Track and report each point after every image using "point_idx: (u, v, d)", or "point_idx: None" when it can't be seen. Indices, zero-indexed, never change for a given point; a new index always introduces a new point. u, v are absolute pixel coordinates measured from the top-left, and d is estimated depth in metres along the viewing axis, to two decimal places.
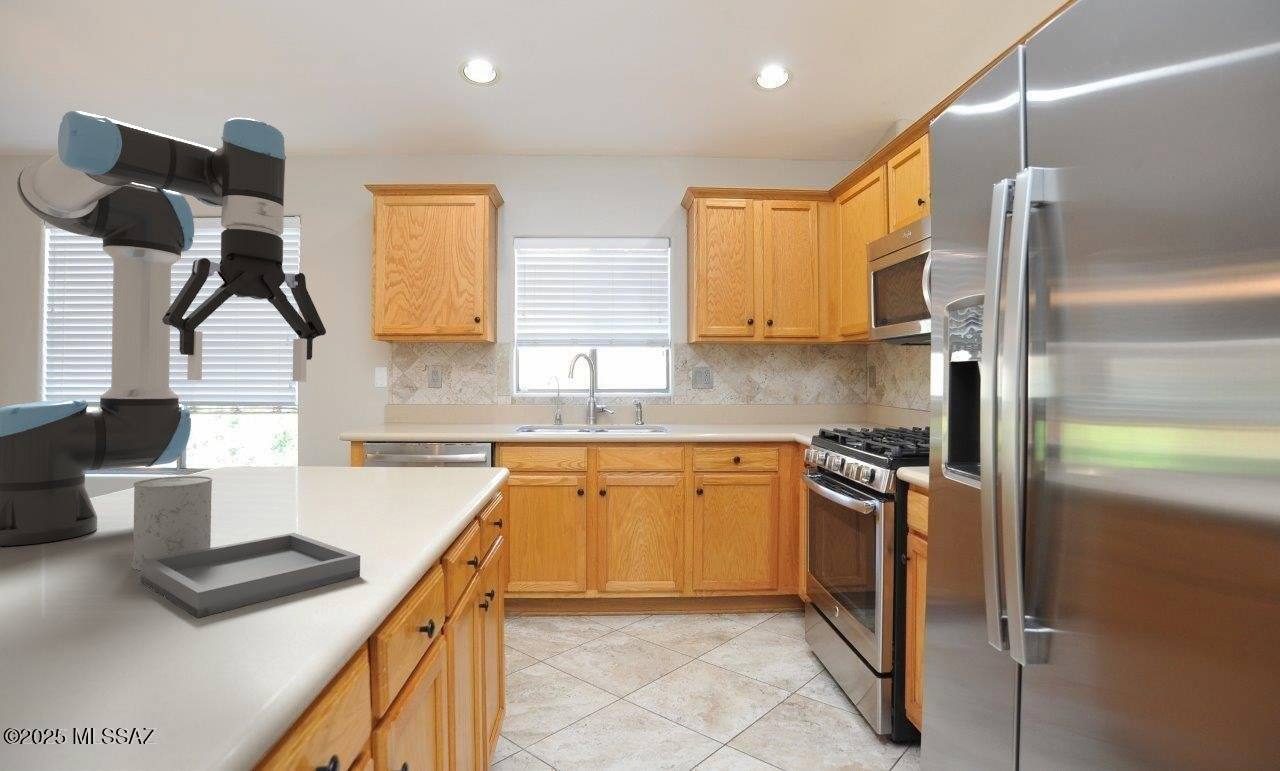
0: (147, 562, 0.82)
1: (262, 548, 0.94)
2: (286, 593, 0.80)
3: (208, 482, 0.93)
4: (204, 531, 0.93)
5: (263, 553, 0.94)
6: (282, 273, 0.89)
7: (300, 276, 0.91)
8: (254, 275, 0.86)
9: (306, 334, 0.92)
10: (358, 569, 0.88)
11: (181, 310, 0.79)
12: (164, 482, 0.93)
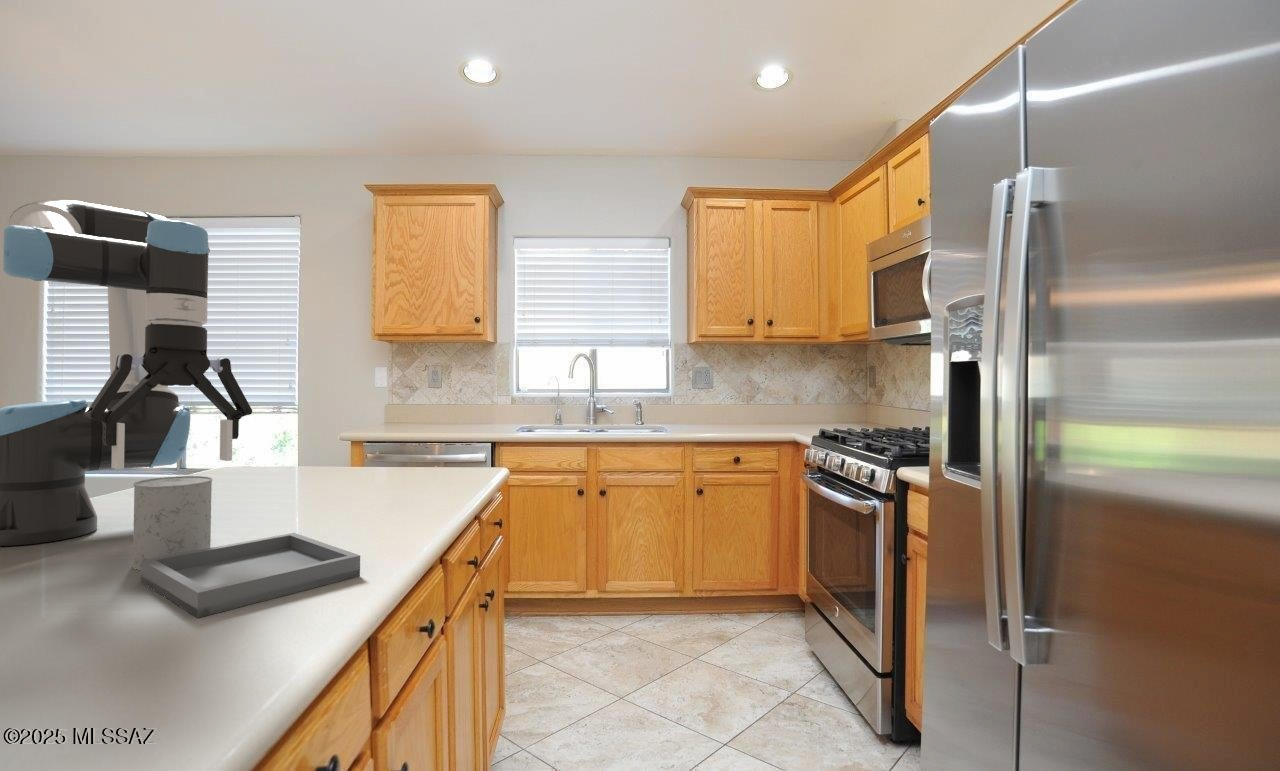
0: (147, 562, 0.82)
1: (262, 548, 0.94)
2: (286, 593, 0.80)
3: (208, 482, 0.93)
4: (204, 531, 0.93)
5: (263, 553, 0.94)
6: (206, 360, 0.95)
7: (225, 361, 0.97)
8: (178, 365, 0.92)
9: (232, 415, 0.97)
10: (358, 569, 0.88)
11: (103, 405, 0.84)
12: (164, 482, 0.92)
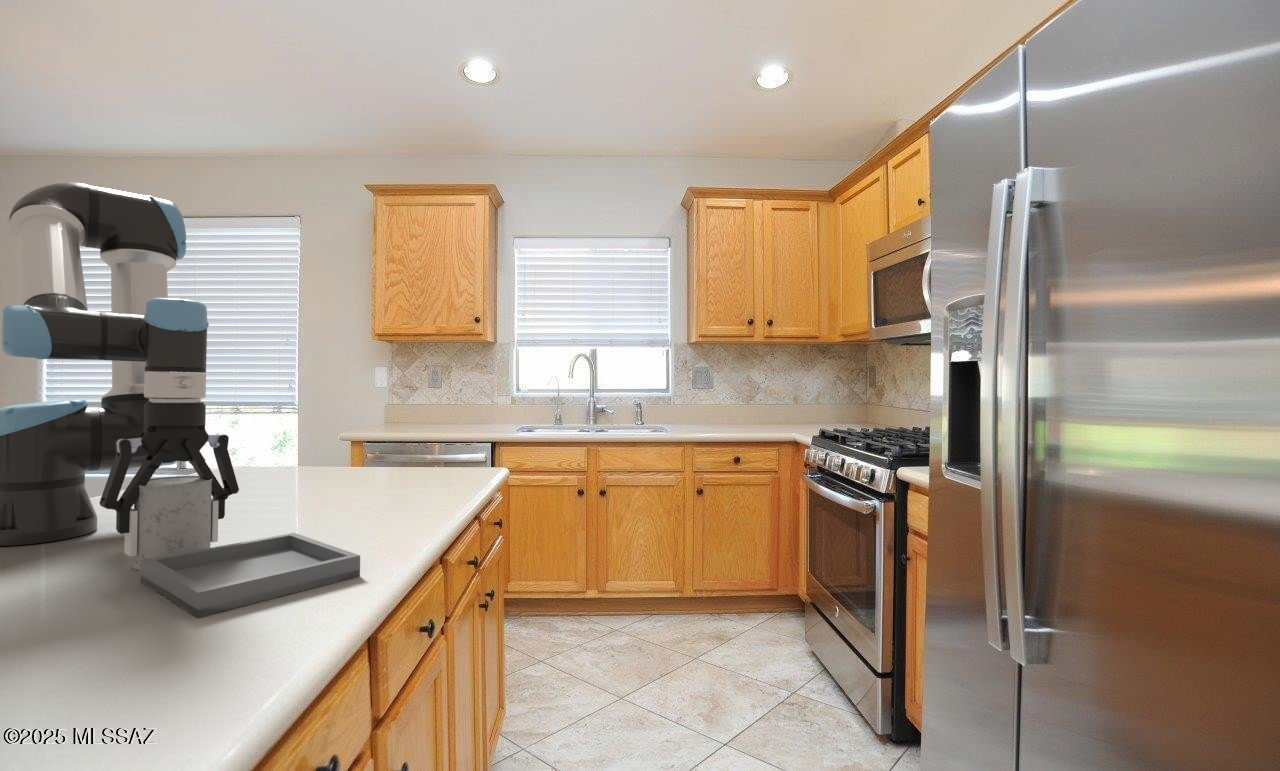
0: (147, 562, 0.82)
1: (262, 548, 0.94)
2: (286, 593, 0.80)
3: (208, 482, 0.93)
4: (204, 531, 0.93)
5: (263, 553, 0.94)
6: (205, 435, 0.95)
7: (223, 438, 0.97)
8: (176, 441, 0.92)
9: (218, 495, 0.96)
10: (358, 569, 0.88)
11: (114, 494, 0.86)
12: (164, 482, 0.92)
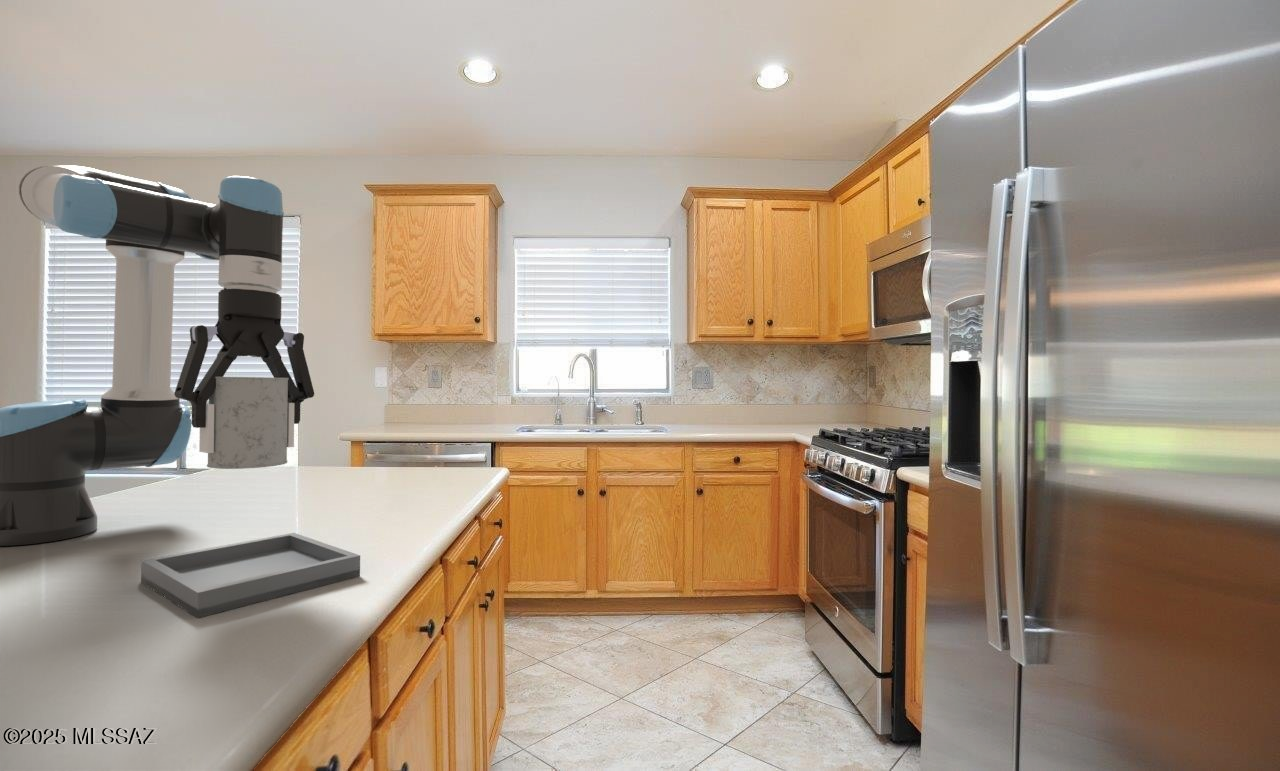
0: (147, 562, 0.82)
1: (262, 548, 0.94)
2: (286, 593, 0.80)
3: (285, 379, 0.86)
4: (282, 432, 0.86)
5: (263, 553, 0.94)
6: (281, 331, 0.88)
7: (299, 336, 0.90)
8: (252, 334, 0.85)
9: (293, 397, 0.89)
10: (358, 569, 0.88)
11: (191, 383, 0.79)
12: None
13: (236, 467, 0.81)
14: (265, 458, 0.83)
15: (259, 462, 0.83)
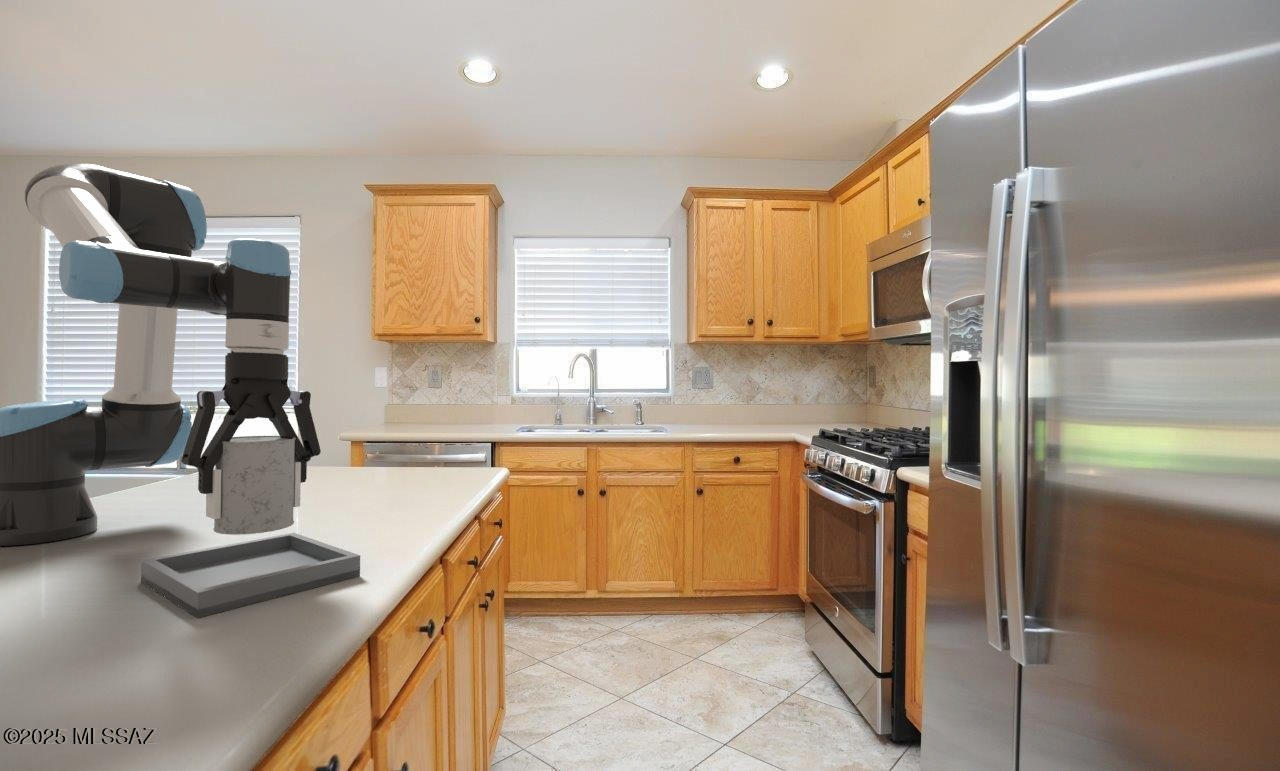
0: (147, 562, 0.82)
1: (262, 548, 0.94)
2: (286, 593, 0.80)
3: (292, 440, 0.86)
4: (289, 493, 0.85)
5: (263, 553, 0.94)
6: (288, 390, 0.88)
7: (306, 394, 0.89)
8: (259, 396, 0.84)
9: (300, 456, 0.89)
10: (358, 569, 0.88)
11: (198, 450, 0.79)
12: (245, 440, 0.85)
13: (243, 532, 0.81)
14: (272, 522, 0.83)
15: (266, 527, 0.82)
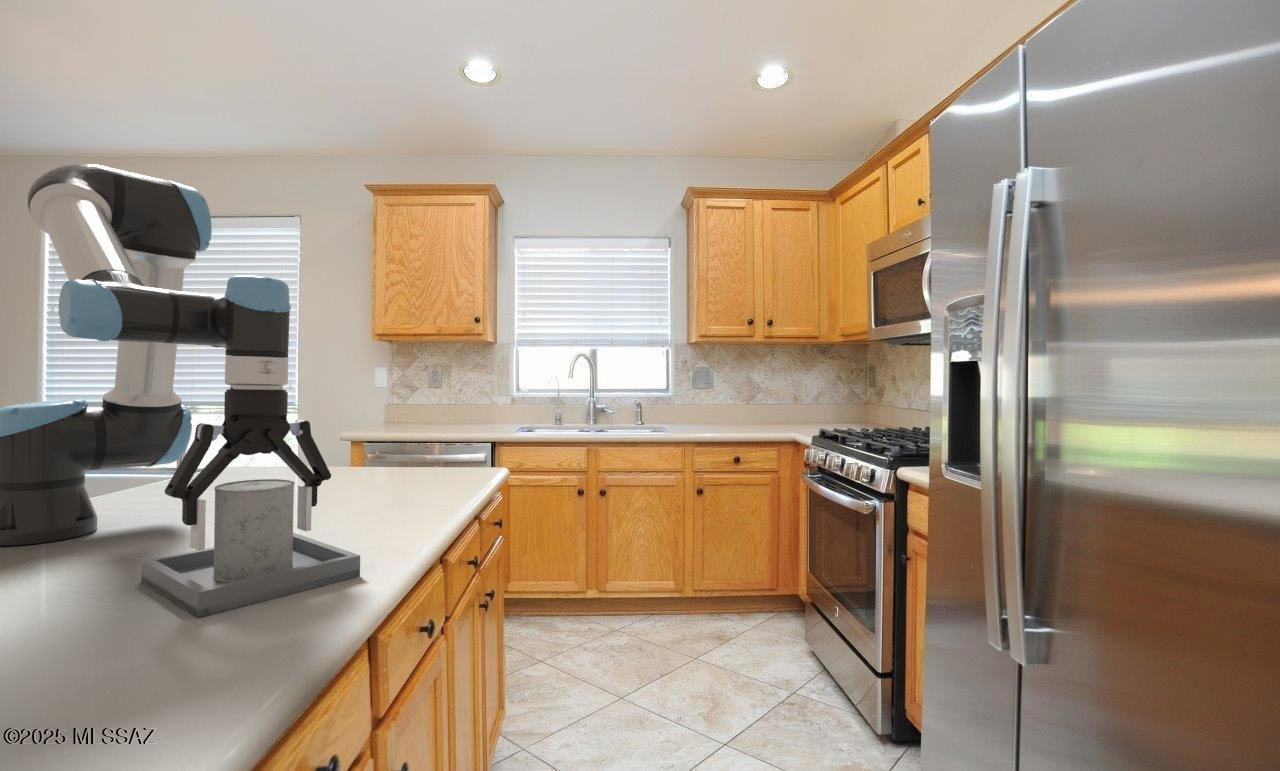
0: (147, 562, 0.82)
1: None
2: (286, 593, 0.80)
3: (291, 486, 0.86)
4: (288, 539, 0.86)
5: None
6: (287, 424, 0.88)
7: (305, 424, 0.89)
8: (258, 432, 0.84)
9: (311, 482, 0.90)
10: (358, 569, 0.88)
11: (184, 482, 0.77)
12: (245, 486, 0.85)
13: None
14: (271, 569, 0.83)
15: None
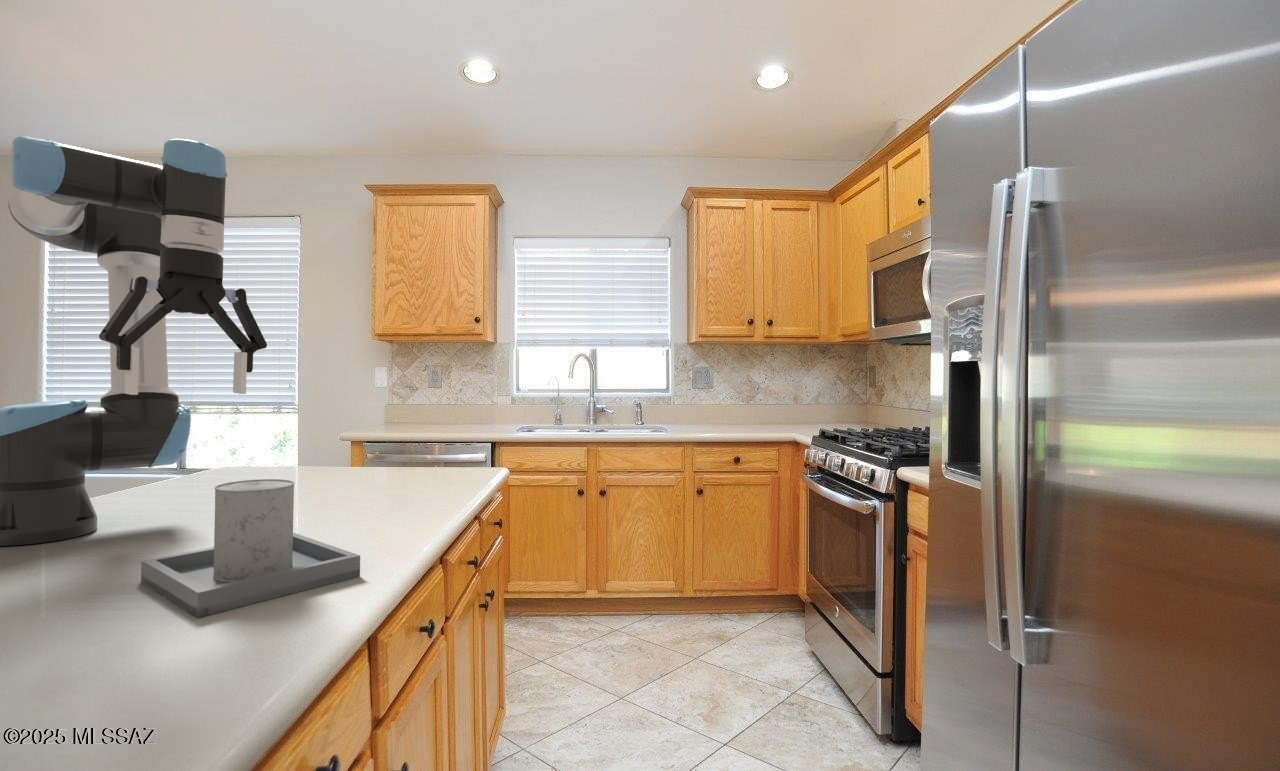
0: (147, 562, 0.82)
1: None
2: (286, 593, 0.80)
3: (292, 486, 0.86)
4: (288, 539, 0.86)
5: None
6: (222, 289, 0.92)
7: (241, 292, 0.94)
8: (193, 292, 0.89)
9: (246, 348, 0.95)
10: (358, 569, 0.88)
11: (117, 327, 0.82)
12: (245, 486, 0.85)
13: None
14: (271, 569, 0.83)
15: None
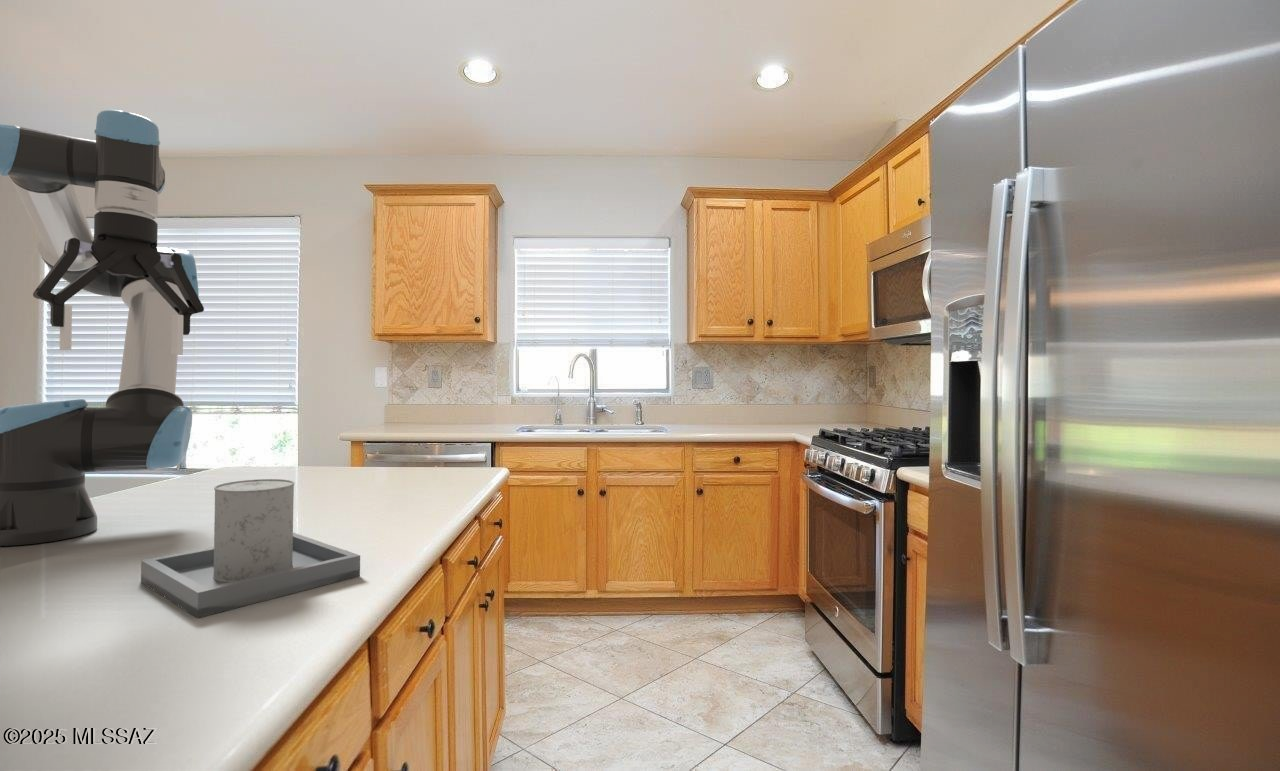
0: (147, 562, 0.82)
1: None
2: (286, 593, 0.80)
3: (291, 486, 0.86)
4: (288, 539, 0.86)
5: None
6: (157, 253, 0.97)
7: (176, 257, 0.98)
8: (127, 255, 0.94)
9: (183, 311, 0.99)
10: (358, 569, 0.88)
11: (50, 285, 0.86)
12: (245, 486, 0.85)
13: None
14: (271, 569, 0.83)
15: None
